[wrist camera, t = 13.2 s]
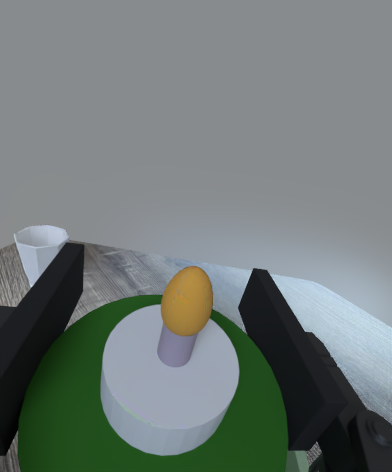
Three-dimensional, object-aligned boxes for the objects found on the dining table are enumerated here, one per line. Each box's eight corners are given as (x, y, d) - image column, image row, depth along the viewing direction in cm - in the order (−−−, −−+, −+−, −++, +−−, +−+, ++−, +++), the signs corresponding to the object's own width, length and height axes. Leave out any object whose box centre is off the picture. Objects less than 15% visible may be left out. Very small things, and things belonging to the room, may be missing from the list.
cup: (9, 295, 34) (3, 246, 31) (31, 256, 43) (27, 214, 39) (65, 294, 37) (65, 249, 33) (75, 258, 45) (76, 218, 42)
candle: (270, 463, 11) (391, 301, 7) (106, 785, 5) (243, 977, 1) (159, 343, 16) (192, 199, 12) (1, 446, 10) (-51, 226, 6)
